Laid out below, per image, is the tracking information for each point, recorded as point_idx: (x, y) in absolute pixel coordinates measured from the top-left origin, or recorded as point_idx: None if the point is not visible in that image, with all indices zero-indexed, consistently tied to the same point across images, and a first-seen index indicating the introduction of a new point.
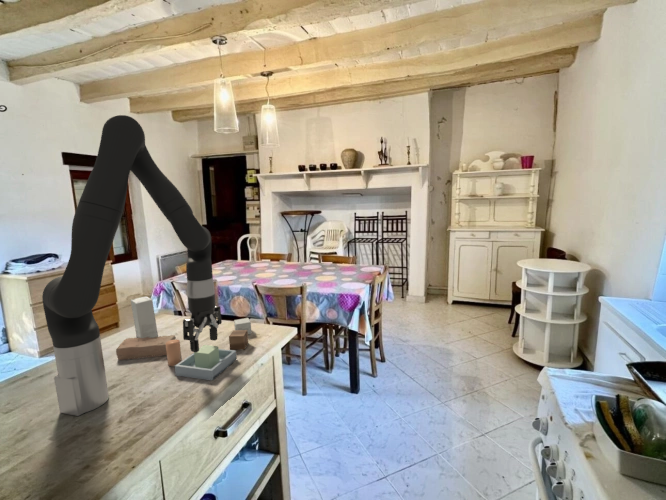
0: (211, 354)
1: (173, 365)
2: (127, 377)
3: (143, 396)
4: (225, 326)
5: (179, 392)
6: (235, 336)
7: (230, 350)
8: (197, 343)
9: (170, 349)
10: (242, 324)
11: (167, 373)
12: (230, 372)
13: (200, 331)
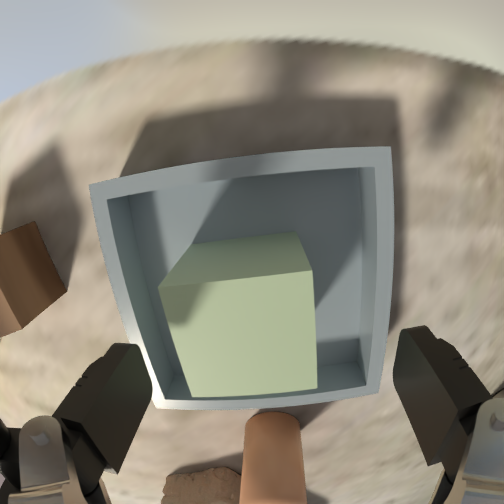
0: (269, 265)
1: (296, 420)
2: (389, 456)
3: (488, 338)
4: (6, 402)
5: (472, 238)
6: (3, 290)
7: (101, 225)
8: (457, 374)
9: (304, 483)
10: None
11: (354, 397)
12: (256, 104)
13: (497, 487)
